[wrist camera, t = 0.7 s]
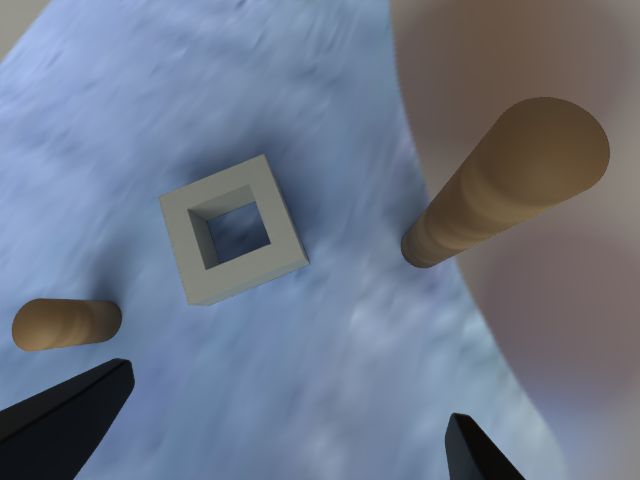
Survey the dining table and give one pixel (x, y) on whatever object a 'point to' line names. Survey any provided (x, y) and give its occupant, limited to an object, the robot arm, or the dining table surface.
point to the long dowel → (511, 178)
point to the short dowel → (64, 323)
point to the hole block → (196, 242)
